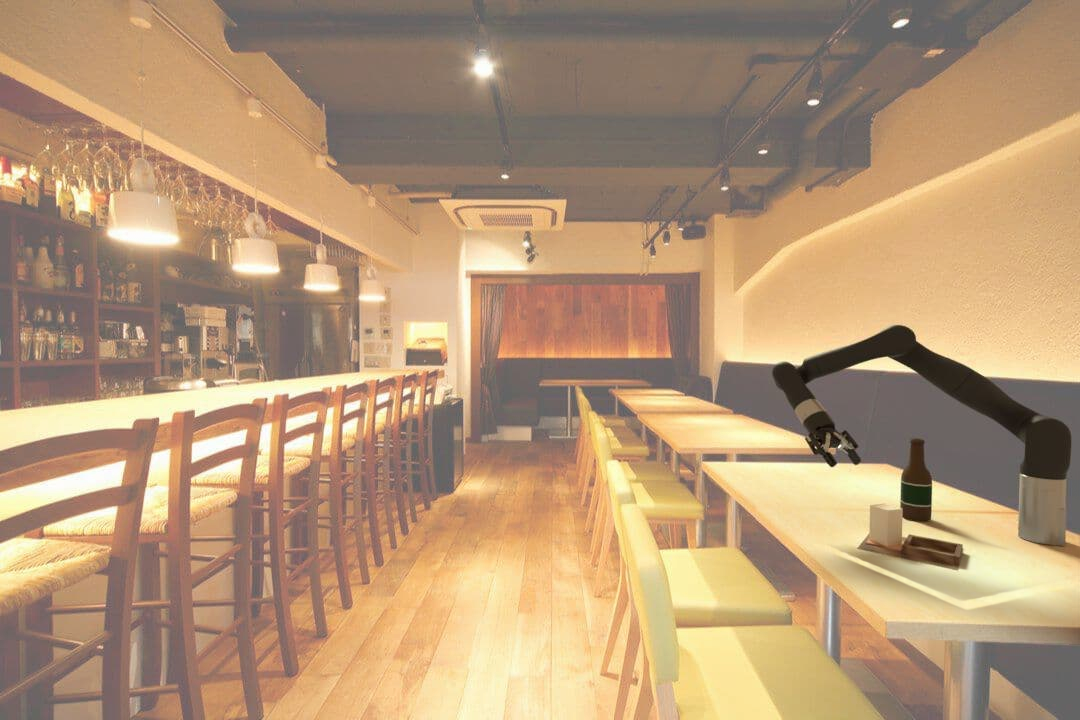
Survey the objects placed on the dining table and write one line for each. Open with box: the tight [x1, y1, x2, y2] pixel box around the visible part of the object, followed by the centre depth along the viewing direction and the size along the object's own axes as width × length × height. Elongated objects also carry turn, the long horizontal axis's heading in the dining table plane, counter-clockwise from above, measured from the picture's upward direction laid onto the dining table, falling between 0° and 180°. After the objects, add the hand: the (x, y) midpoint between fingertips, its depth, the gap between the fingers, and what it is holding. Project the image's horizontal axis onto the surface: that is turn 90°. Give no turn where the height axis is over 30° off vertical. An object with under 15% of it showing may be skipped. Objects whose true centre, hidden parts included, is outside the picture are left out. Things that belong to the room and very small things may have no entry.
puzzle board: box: [856, 532, 964, 571], centre depth 136 cm, size 20×18×3 cm
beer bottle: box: [899, 438, 933, 523], centre depth 165 cm, size 8×8×24 cm
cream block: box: [868, 503, 903, 546], centre depth 140 cm, size 5×5×9 cm
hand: (846, 464), depth 151 cm, fingers open, 8 cm apart
